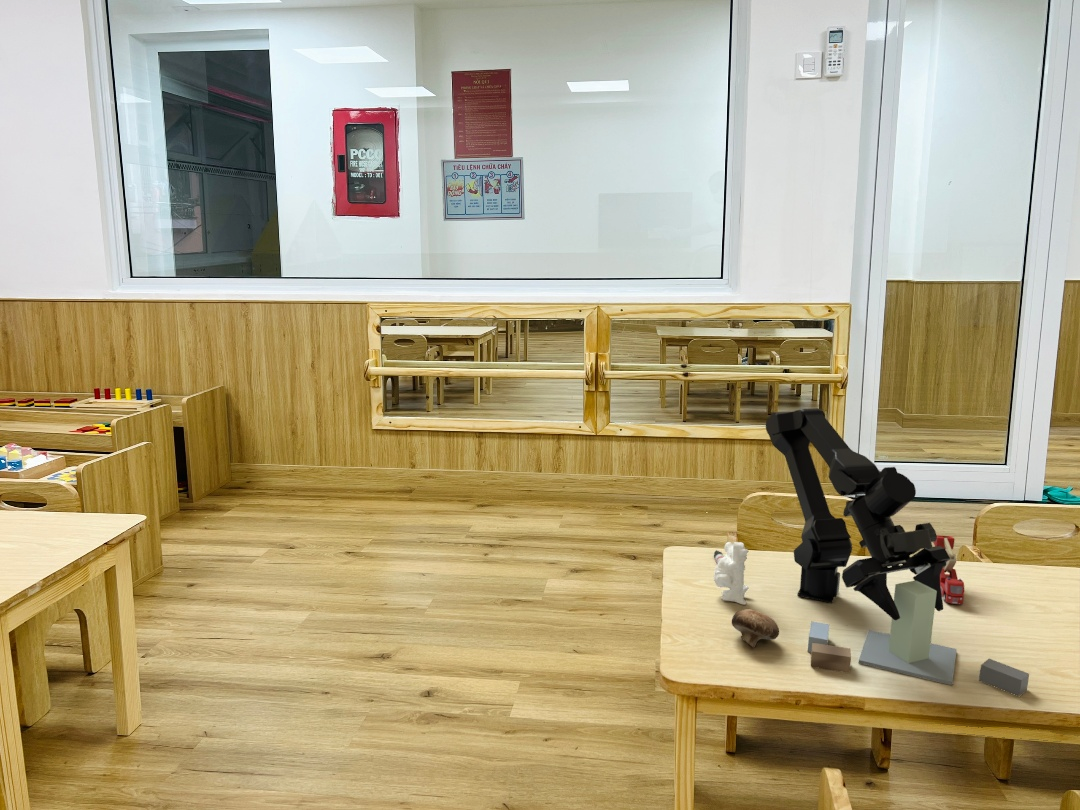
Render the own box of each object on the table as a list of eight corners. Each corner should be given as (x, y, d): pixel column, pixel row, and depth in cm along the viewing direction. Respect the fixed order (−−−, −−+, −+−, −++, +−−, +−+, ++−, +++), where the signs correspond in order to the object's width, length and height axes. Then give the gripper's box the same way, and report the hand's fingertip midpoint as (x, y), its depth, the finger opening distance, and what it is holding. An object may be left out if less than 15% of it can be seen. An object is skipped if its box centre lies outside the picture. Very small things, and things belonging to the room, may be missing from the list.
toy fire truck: (945, 605, 162) (951, 557, 160) (928, 576, 175) (933, 532, 173) (964, 607, 161) (970, 559, 159) (946, 577, 174) (951, 533, 172)
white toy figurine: (757, 607, 160) (761, 547, 157) (722, 608, 159) (726, 548, 157) (742, 588, 168) (745, 530, 166) (709, 589, 167) (712, 532, 165)
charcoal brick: (978, 681, 135) (981, 664, 135) (986, 675, 137) (989, 658, 136) (1019, 697, 131) (1021, 680, 130) (1026, 691, 133) (1029, 673, 132)
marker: (736, 585, 170) (736, 575, 170) (726, 585, 170) (727, 575, 170) (720, 555, 185) (720, 546, 185) (711, 555, 185) (711, 546, 185)
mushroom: (746, 641, 140) (755, 604, 143) (717, 638, 147) (725, 603, 150) (783, 657, 143) (791, 621, 145) (752, 653, 150) (760, 619, 152)
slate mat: (858, 663, 140) (858, 659, 140) (868, 632, 150) (868, 629, 150) (952, 685, 134) (952, 681, 134) (956, 652, 144) (956, 648, 144)
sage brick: (888, 650, 143) (895, 584, 140) (908, 646, 145) (915, 580, 142) (908, 663, 139) (916, 595, 136) (928, 658, 141) (936, 590, 138)
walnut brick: (810, 668, 139) (811, 651, 138) (810, 659, 142) (812, 642, 141) (849, 674, 137) (851, 657, 136) (848, 665, 140) (850, 648, 139)
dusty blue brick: (826, 656, 143) (827, 639, 142) (807, 652, 144) (808, 636, 143) (828, 640, 148) (829, 624, 148) (810, 637, 149) (811, 621, 149)
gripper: (860, 514, 137) (905, 606, 129) (947, 501, 144) (995, 587, 136) (823, 542, 146) (863, 630, 138) (907, 529, 152) (950, 612, 145)
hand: (919, 614), depth 139 cm, fingers open, 9 cm apart
